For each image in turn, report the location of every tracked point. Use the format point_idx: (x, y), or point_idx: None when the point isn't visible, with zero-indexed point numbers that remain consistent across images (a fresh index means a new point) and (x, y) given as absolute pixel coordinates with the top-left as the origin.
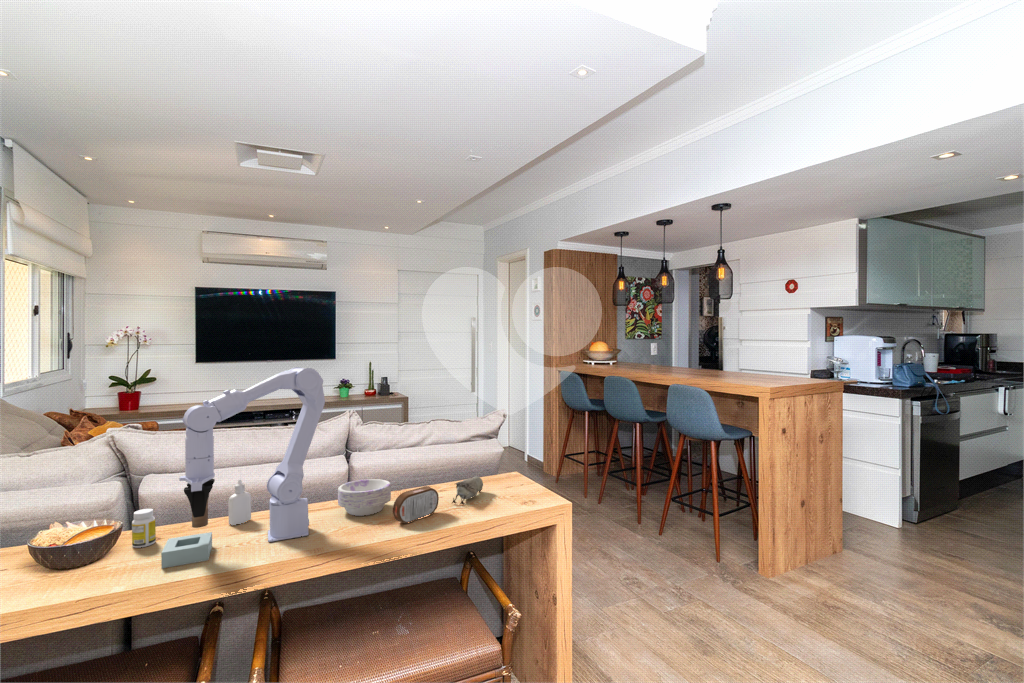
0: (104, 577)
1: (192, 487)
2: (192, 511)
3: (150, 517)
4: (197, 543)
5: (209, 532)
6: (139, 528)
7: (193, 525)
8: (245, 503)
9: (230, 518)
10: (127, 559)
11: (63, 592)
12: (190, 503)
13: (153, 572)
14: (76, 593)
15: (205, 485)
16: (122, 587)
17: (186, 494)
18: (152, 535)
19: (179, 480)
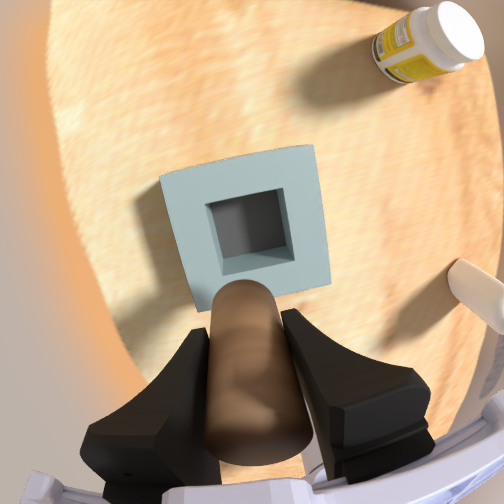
0: (154, 37)
1: (29, 493)
2: (179, 348)
3: (445, 55)
4: (288, 243)
5: (330, 277)
6: (401, 31)
7: (216, 296)
8: (484, 320)
9: (464, 271)
10: (284, 39)
11: (96, 3)
12: (153, 381)
13: (147, 160)
14: (78, 35)
15: (327, 464)
16: (73, 126)
17: (98, 425)
18: (404, 73)
19: (169, 491)
